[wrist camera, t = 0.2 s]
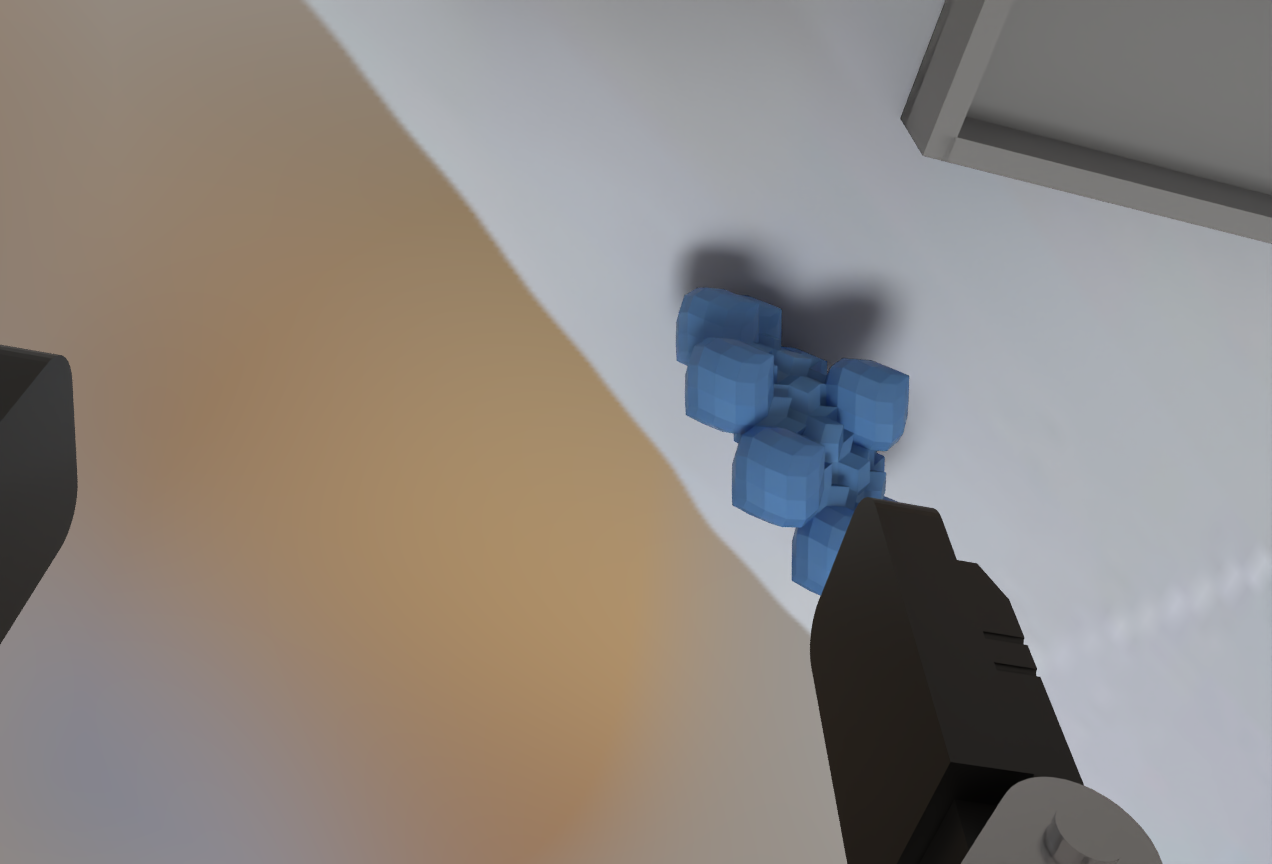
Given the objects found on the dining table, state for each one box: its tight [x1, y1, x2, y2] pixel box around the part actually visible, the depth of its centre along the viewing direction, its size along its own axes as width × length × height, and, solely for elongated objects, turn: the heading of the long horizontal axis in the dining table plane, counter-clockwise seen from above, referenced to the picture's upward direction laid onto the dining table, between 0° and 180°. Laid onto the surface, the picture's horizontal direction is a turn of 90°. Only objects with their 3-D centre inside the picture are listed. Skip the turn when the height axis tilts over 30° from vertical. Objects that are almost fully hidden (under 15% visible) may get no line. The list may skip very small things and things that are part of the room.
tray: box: [901, 0, 1272, 244], centre depth 37 cm, size 8×17×4 cm, turn 76°
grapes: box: [676, 287, 909, 596], centre depth 39 cm, size 12×7×12 cm, turn 39°
